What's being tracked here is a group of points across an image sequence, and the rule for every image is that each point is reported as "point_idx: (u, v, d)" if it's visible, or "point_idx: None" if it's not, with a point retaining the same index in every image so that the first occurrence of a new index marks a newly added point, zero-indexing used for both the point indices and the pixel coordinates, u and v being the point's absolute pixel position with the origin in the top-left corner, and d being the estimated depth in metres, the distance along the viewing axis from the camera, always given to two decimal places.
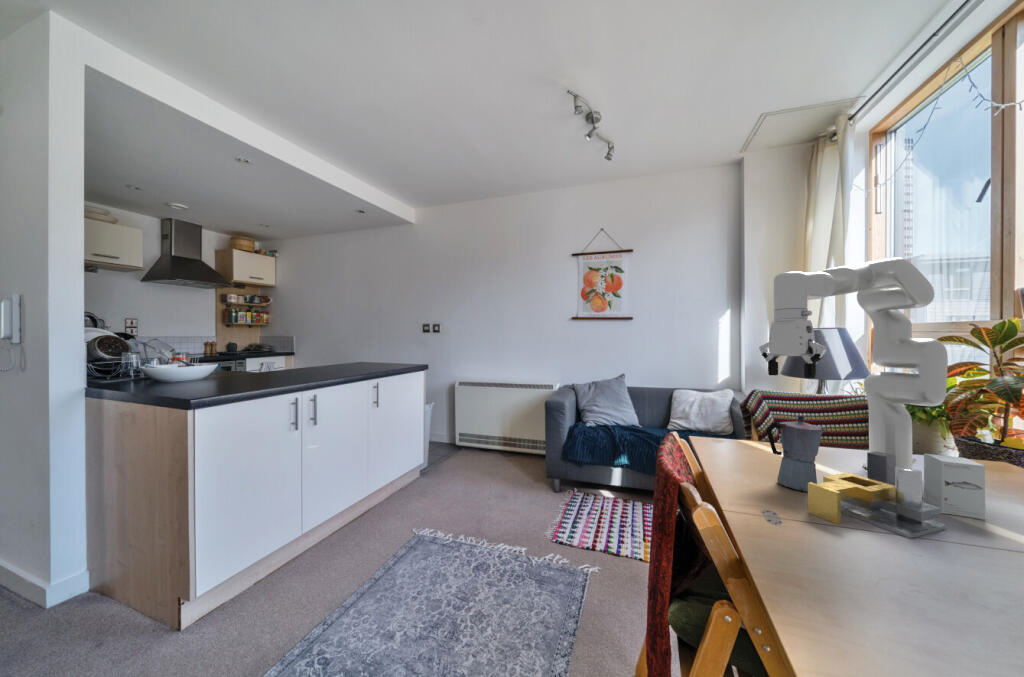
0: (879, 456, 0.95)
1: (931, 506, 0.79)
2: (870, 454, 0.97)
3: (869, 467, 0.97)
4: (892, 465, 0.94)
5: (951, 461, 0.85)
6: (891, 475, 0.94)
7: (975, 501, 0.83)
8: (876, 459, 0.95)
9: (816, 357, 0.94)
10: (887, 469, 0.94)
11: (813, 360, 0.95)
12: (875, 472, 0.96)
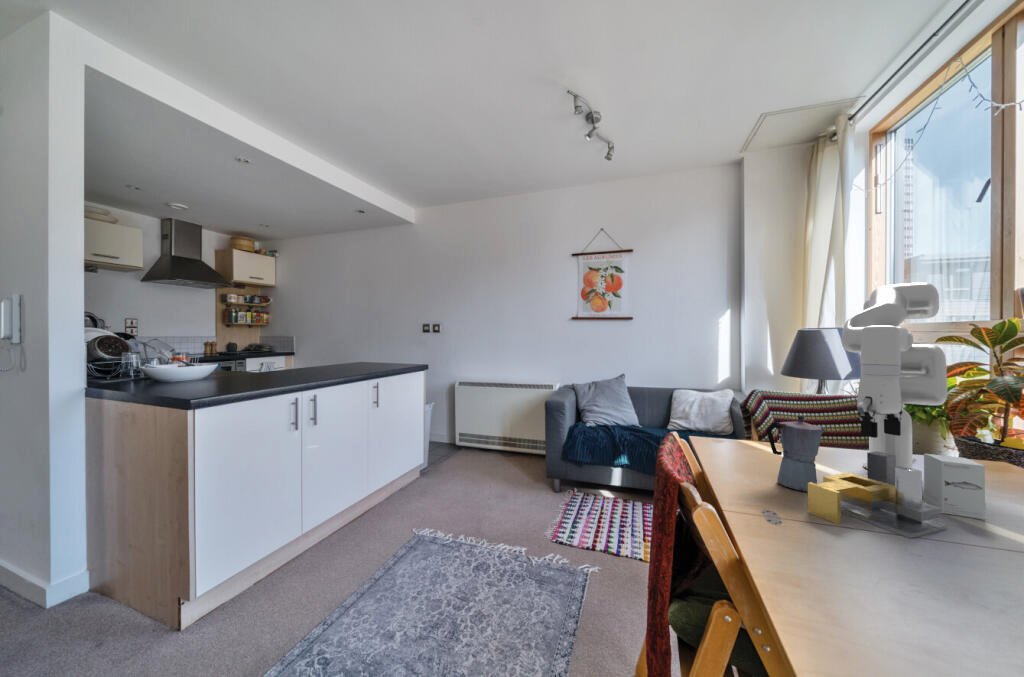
0: (879, 456, 0.95)
1: (931, 506, 0.79)
2: (870, 454, 0.97)
3: (869, 467, 0.97)
4: (892, 465, 0.94)
5: (951, 461, 0.85)
6: (891, 475, 0.94)
7: (975, 501, 0.83)
8: (876, 459, 0.95)
9: (901, 414, 0.97)
10: (887, 469, 0.94)
11: None
12: (875, 472, 0.96)
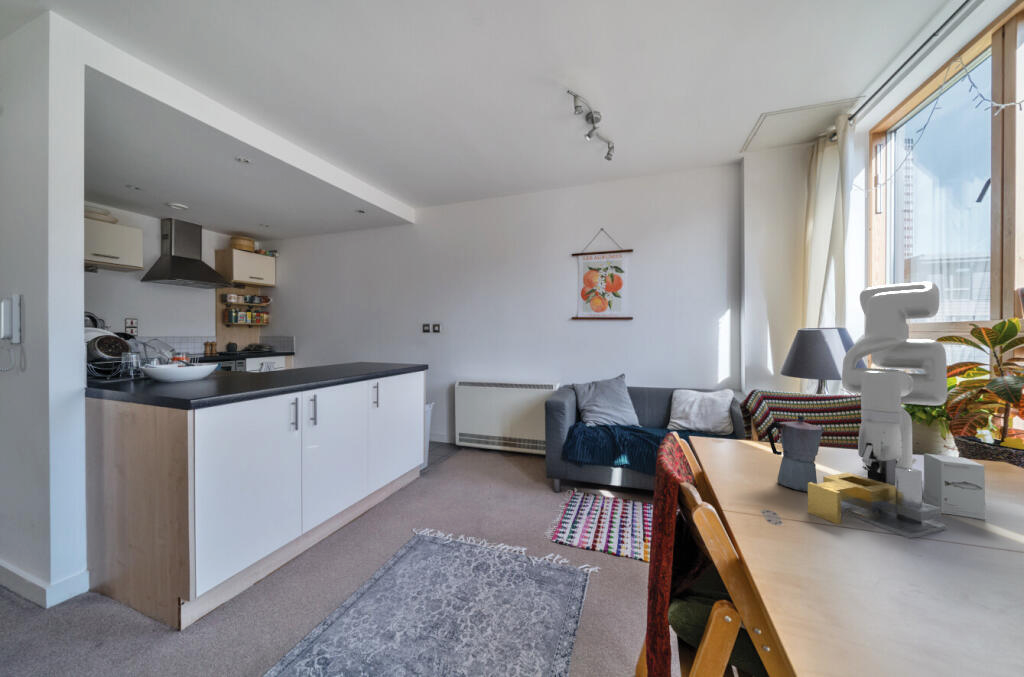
0: None
1: (931, 506, 0.79)
2: None
3: None
4: (892, 465, 0.94)
5: (951, 461, 0.85)
6: (891, 475, 0.94)
7: (975, 501, 0.83)
8: (876, 459, 0.95)
9: (896, 463, 0.97)
10: (887, 469, 0.93)
11: None
12: None
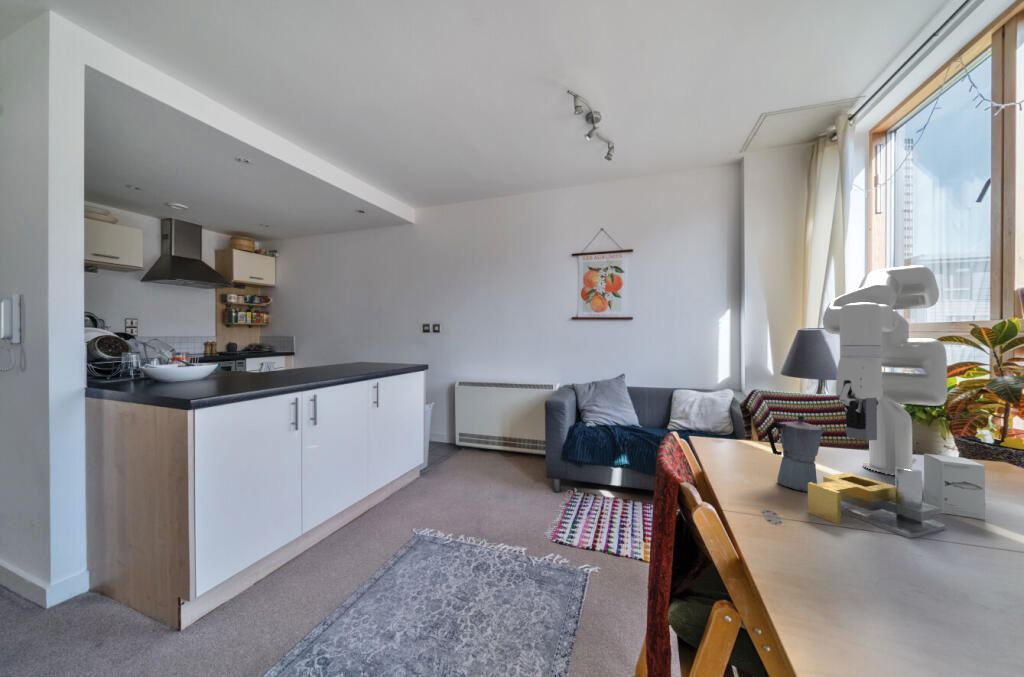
0: None
1: (931, 506, 0.79)
2: None
3: None
4: (873, 404, 0.86)
5: (951, 461, 0.85)
6: (871, 415, 0.86)
7: (975, 501, 0.83)
8: None
9: (877, 404, 0.89)
10: (867, 408, 0.86)
11: None
12: None
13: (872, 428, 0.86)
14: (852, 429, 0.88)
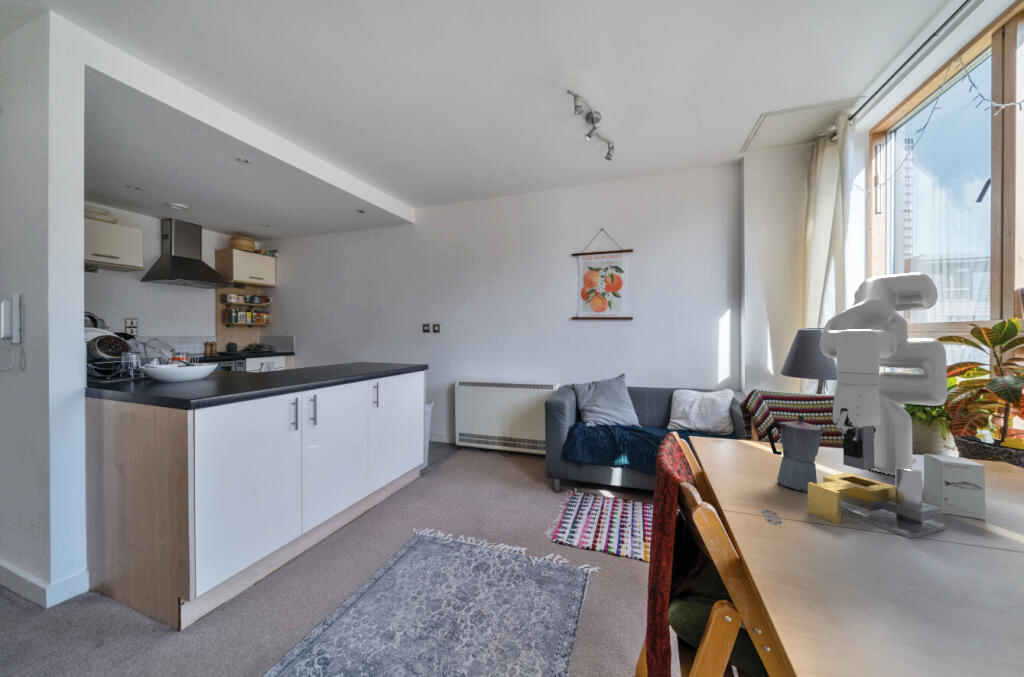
0: None
1: (931, 506, 0.79)
2: None
3: None
4: (870, 433, 0.85)
5: (951, 461, 0.85)
6: (868, 443, 0.85)
7: (975, 501, 0.83)
8: None
9: (874, 432, 0.88)
10: (864, 437, 0.84)
11: None
12: None
13: (870, 457, 0.85)
14: (849, 457, 0.87)
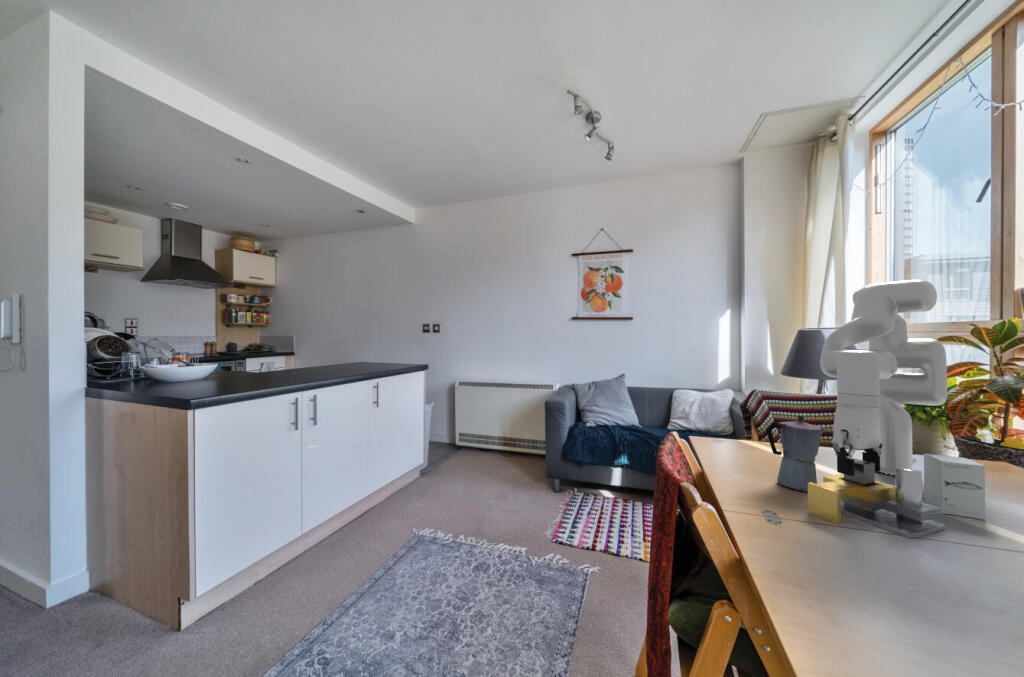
0: (856, 464, 0.86)
1: (931, 506, 0.79)
2: None
3: (845, 476, 0.88)
4: (871, 474, 0.85)
5: (951, 461, 0.85)
6: (869, 485, 0.85)
7: (975, 501, 0.83)
8: None
9: (881, 447, 0.88)
10: (864, 478, 0.84)
11: None
12: (852, 481, 0.86)
13: None
14: None
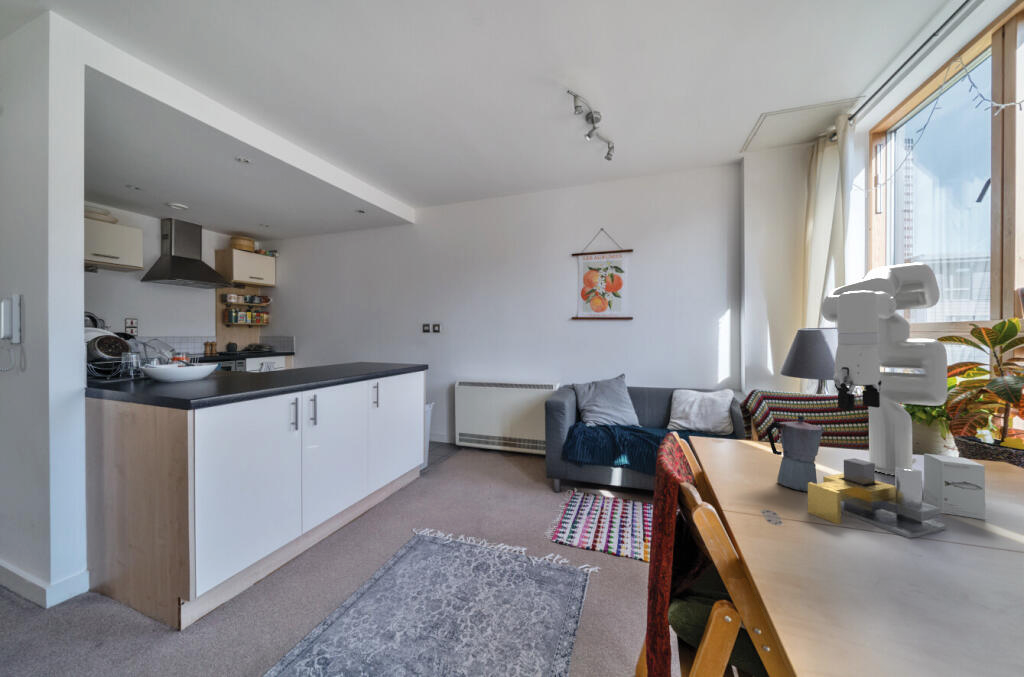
0: (856, 464, 0.86)
1: (931, 506, 0.79)
2: (847, 461, 0.88)
3: (845, 476, 0.88)
4: (871, 474, 0.85)
5: (951, 461, 0.85)
6: (869, 485, 0.85)
7: (975, 501, 0.83)
8: (852, 468, 0.86)
9: (880, 384, 0.92)
10: (864, 478, 0.84)
11: None
12: (852, 481, 0.86)
13: None
14: None
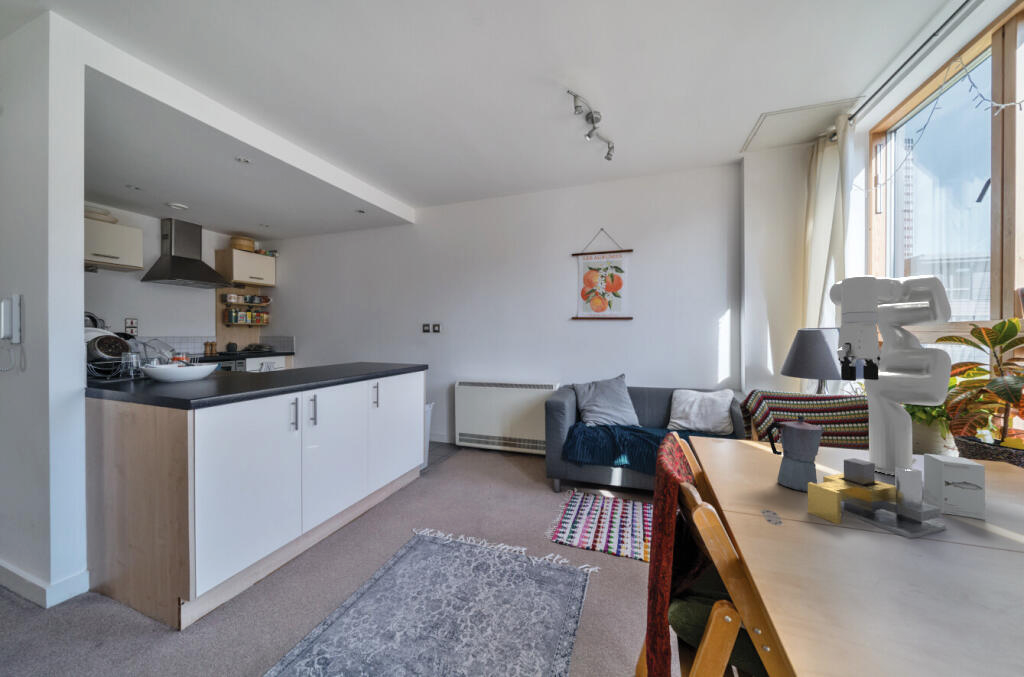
0: (856, 464, 0.86)
1: (931, 506, 0.79)
2: (847, 461, 0.88)
3: (845, 476, 0.88)
4: (871, 474, 0.85)
5: (951, 461, 0.85)
6: (869, 485, 0.85)
7: (975, 501, 0.83)
8: (852, 468, 0.86)
9: (879, 360, 1.03)
10: (864, 478, 0.84)
11: None
12: (852, 481, 0.86)
13: None
14: None
